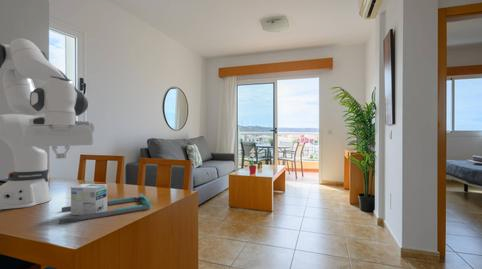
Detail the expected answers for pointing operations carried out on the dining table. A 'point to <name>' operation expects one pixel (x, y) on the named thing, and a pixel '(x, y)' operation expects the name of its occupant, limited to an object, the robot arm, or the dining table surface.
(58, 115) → the robot arm
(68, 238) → the dining table surface
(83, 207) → the light bulb box
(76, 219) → the rail frame
